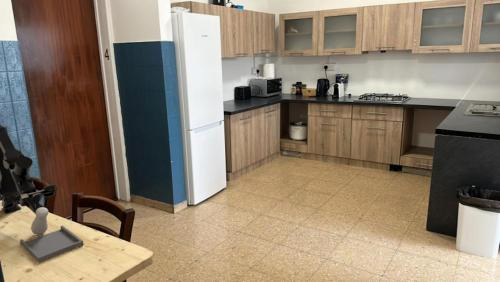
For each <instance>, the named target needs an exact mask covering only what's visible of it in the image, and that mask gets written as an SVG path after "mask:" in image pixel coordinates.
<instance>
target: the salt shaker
mask: <svg viewBox="0 0 500 282" xmlns="http://www.w3.org/2000/svg"><path fill="white" fill-rule="evenodd" d="M34 215H35V217H34V220H33V221H32V223H31V224H30V225H31V226H30V229H31V232H32V233H33V234H34V235H36V236H40V235H41V236H42V235H44V234H45V233H46V232H47V230H48V227H49V225H48V218H47V216H48V215H49V210H48V208H46V207H39V208H38V209H37V210H36V214H35V213H34Z"/></svg>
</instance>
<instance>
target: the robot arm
mask: <svg viewBox="0 0 500 282" xmlns="http://www.w3.org/2000/svg"><path fill="white" fill-rule="evenodd" d="M33 163H34V162H33V159H32V158H31V157H29V156H26V155H24V153H23V152H22V151H21V150H19V149H17V148H16V147H15V146H14V143H13V141H12V139H11V137H10V135H9V131H8V127H7V126H3V125H2V124H0V202H1V211H2V212H3V213H5V214H8V213H11V212H15V211H19V210H21V209H22V207H27V208H28V209H29V210H30V211H32V212H33V213H34V215H35V214H36V210H37V209H38V208H40V202H41V200H42V198H43V197H44V198H46V199H47V198H50V197H53V196H54V195H55V194H56V192H57V187H56V185H55V184H54V183H53V184H52V183H51V184H48V185H45V186H43V188H42V189H41V190H37V186H35V184H34V179H33V178H32V177H31V175H30V173H31V171H32V166H33V165H34V164H33ZM12 170H13V171H12ZM11 171H12V172H11Z"/></svg>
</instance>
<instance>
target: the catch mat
mask: <svg viewBox="0 0 500 282" xmlns="http://www.w3.org/2000/svg"><path fill="white" fill-rule="evenodd" d="M19 243H20V245H21V246H22V247H23V248H24V249H25V250H26V252H28V253H29V254H30V255H31V256H32V257H33V258H34V260H36V261H37V262H38V264H40V263H42V262H45V261H47V260H50V259H52V258H55V257H57V256H60V255H62V254H64V253H65V254H66V253H67V252H70V251H72V250H74V249H77V248H80V247H83V246H84V240H83V239H81V238H80V237H79V236H77V235H76V234H75V233H73V232H72V231H71V230H69V229H68V228H66V226H64V225H60V229H58V230H55V231H51V232H48V233H47V234H42V235H41V236H40V235H39V236H37V237H34V238H32V239H29V240H26V241H25V240H24V239H23V238H21V239H19Z"/></svg>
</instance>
